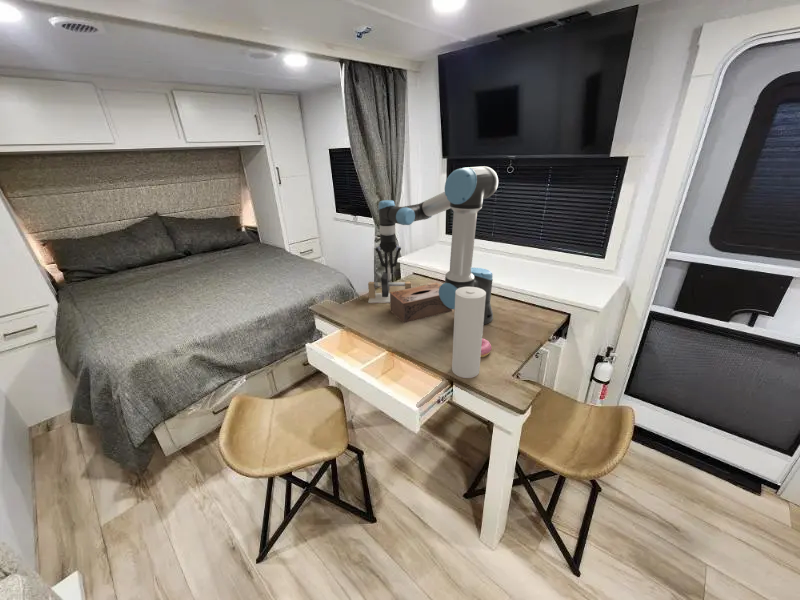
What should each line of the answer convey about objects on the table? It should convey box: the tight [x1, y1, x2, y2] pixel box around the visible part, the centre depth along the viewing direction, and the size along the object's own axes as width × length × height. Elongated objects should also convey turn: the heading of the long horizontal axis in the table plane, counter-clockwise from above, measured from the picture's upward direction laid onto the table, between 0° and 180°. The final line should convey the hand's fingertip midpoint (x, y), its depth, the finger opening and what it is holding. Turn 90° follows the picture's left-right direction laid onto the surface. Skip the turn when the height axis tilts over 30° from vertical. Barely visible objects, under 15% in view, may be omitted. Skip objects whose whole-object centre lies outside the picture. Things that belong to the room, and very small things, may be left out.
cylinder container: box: [451, 287, 486, 379], centre depth 109 cm, size 9×9×30 cm
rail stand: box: [367, 281, 412, 304], centre depth 172 cm, size 11×22×9 cm, turn 87°
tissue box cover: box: [389, 282, 453, 324], centre depth 157 cm, size 26×14×10 cm, turn 116°
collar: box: [380, 271, 390, 297], centre depth 170 cm, size 10×3×10 cm, turn 177°
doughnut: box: [480, 337, 493, 358], centre depth 125 cm, size 11×11×4 cm
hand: (389, 279), depth 169 cm, fingers closed
